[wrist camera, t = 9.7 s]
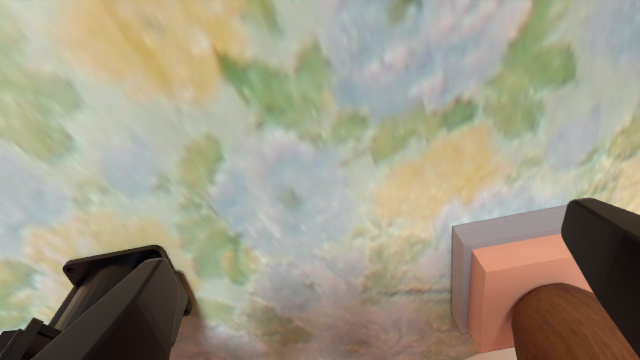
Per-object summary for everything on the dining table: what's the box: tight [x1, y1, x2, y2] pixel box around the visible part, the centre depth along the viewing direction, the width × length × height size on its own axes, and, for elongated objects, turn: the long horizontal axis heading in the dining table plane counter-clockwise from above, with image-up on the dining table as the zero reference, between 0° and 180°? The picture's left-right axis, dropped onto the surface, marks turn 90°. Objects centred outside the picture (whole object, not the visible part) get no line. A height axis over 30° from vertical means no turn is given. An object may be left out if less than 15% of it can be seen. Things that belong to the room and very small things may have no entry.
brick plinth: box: [451, 205, 593, 353], centre depth 26 cm, size 9×9×4 cm
